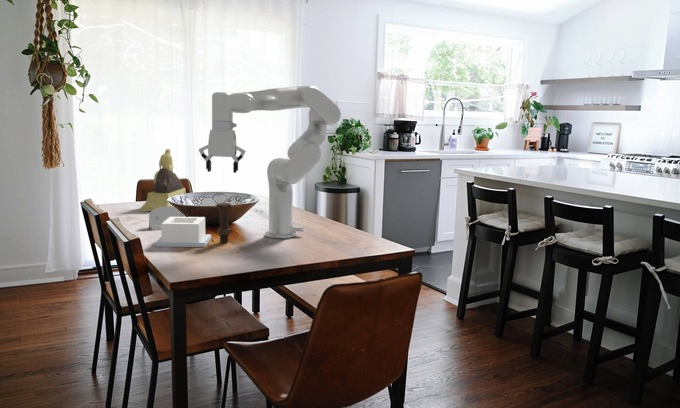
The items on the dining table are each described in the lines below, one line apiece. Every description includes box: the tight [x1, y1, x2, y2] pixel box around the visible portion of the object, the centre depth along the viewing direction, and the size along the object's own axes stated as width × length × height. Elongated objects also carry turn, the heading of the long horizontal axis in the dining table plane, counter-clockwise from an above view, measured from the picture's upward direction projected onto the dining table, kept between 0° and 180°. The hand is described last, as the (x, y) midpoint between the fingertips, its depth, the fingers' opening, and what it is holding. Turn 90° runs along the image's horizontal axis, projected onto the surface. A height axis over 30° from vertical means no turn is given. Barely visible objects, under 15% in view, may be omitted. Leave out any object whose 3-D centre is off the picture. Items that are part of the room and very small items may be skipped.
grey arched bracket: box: [148, 206, 186, 231], centre depth 231 cm, size 17×5×10 cm, turn 120°
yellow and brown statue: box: [140, 148, 187, 212], centre depth 275 cm, size 28×13×30 cm, turn 174°
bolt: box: [215, 202, 232, 244], centre depth 206 cm, size 6×5×15 cm
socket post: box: [155, 216, 212, 248], centre depth 206 cm, size 18×14×8 cm
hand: (222, 172), depth 204 cm, fingers open, 9 cm apart
